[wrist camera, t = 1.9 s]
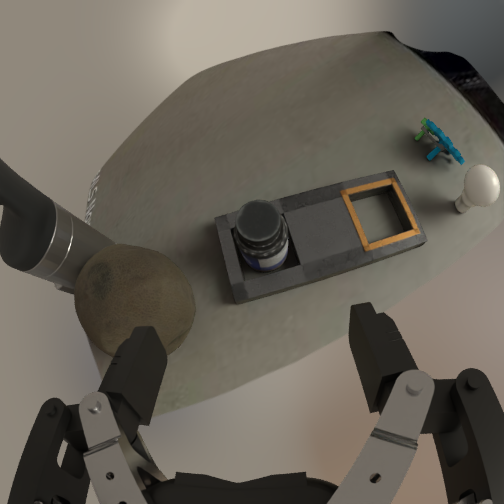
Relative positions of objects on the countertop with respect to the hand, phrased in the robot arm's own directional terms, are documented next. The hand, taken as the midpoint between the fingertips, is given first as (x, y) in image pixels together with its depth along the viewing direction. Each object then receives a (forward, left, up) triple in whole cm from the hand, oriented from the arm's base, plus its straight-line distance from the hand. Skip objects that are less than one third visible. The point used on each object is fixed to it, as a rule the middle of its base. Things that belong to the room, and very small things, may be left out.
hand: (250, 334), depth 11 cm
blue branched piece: (+43, +6, -26) cm, 50 cm away
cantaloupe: (-11, +12, -26) cm, 31 cm away
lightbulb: (+37, -4, -26) cm, 45 cm away
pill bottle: (+6, +10, -26) cm, 28 cm away
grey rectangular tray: (+14, +7, -26) cm, 30 cm away
